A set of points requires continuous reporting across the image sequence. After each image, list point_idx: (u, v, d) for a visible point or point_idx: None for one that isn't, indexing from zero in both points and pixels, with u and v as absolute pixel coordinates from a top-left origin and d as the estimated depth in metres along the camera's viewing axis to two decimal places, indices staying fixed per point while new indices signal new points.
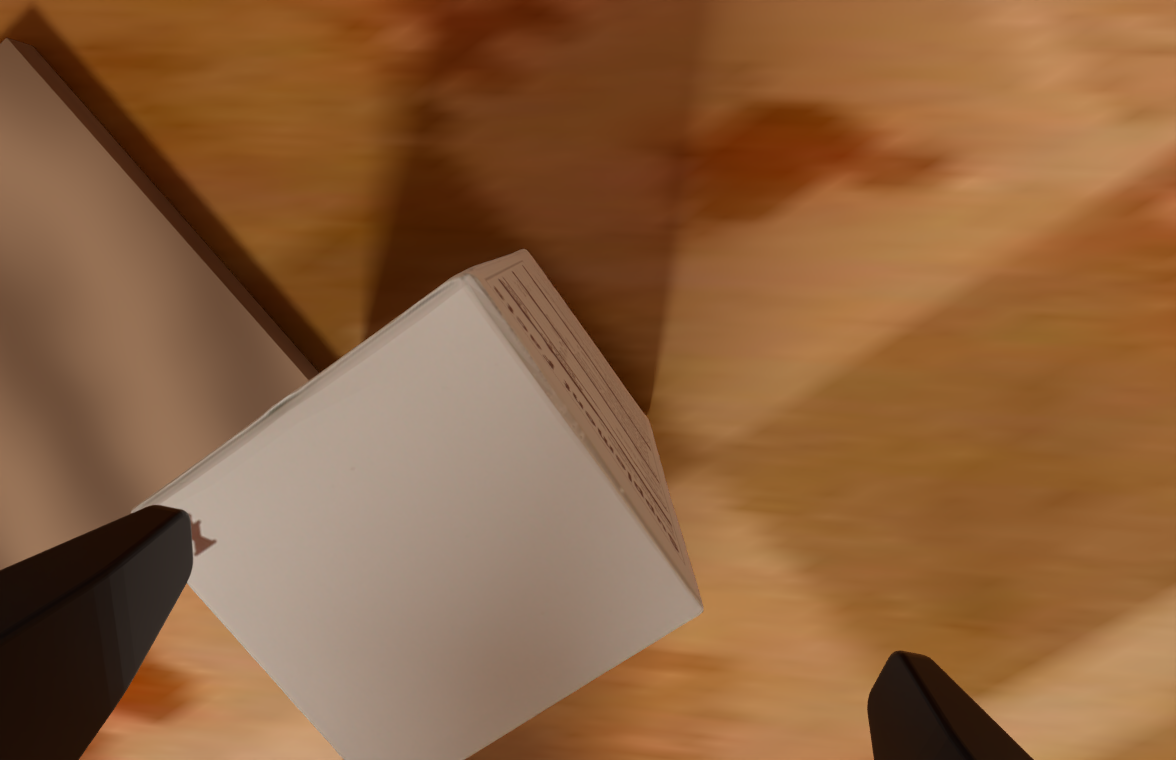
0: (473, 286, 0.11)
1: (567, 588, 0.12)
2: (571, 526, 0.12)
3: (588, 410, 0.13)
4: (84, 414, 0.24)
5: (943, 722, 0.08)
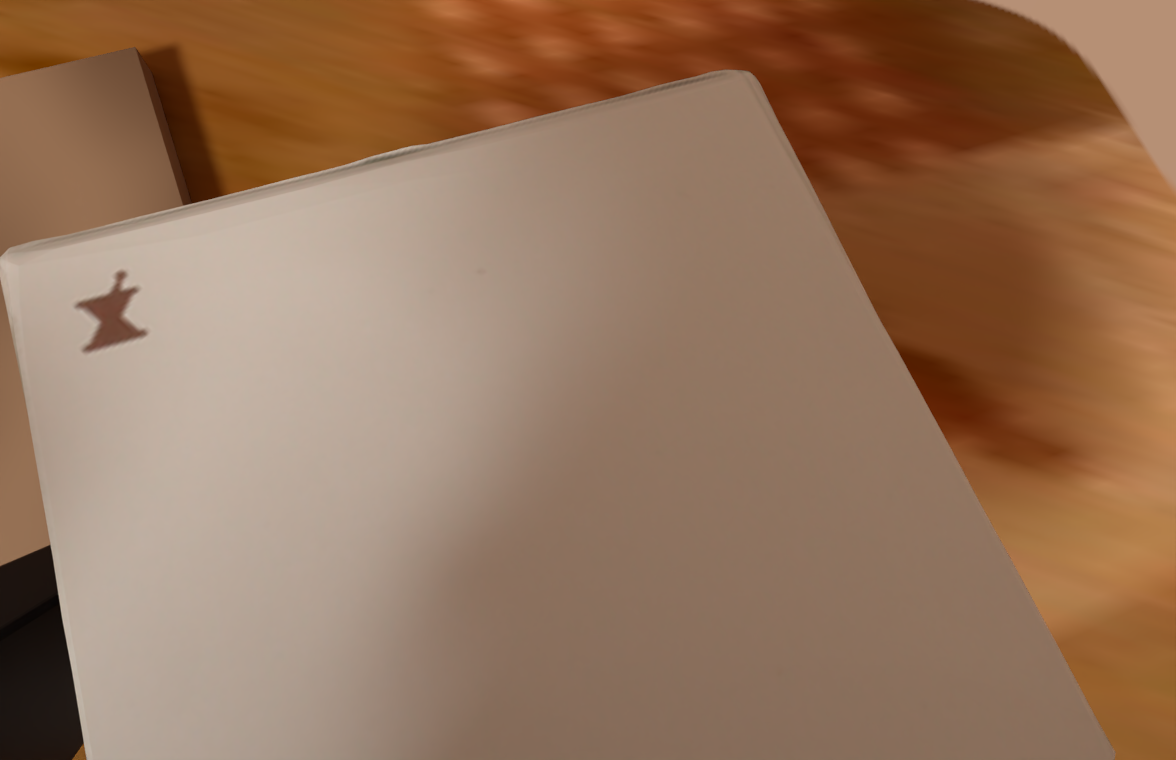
0: (755, 86, 0.07)
1: (841, 626, 0.06)
2: (861, 489, 0.06)
3: None
4: None
5: None
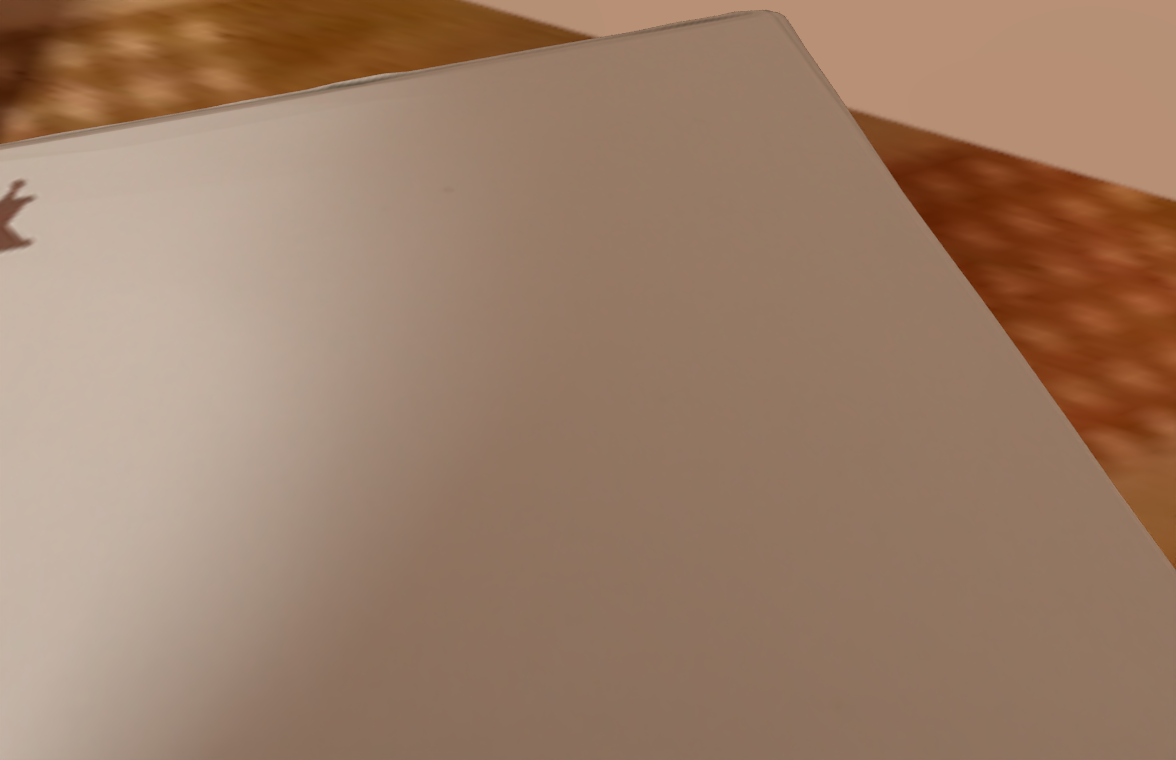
0: (784, 24, 0.06)
1: (927, 640, 0.04)
2: (946, 457, 0.04)
3: None
4: None
5: None
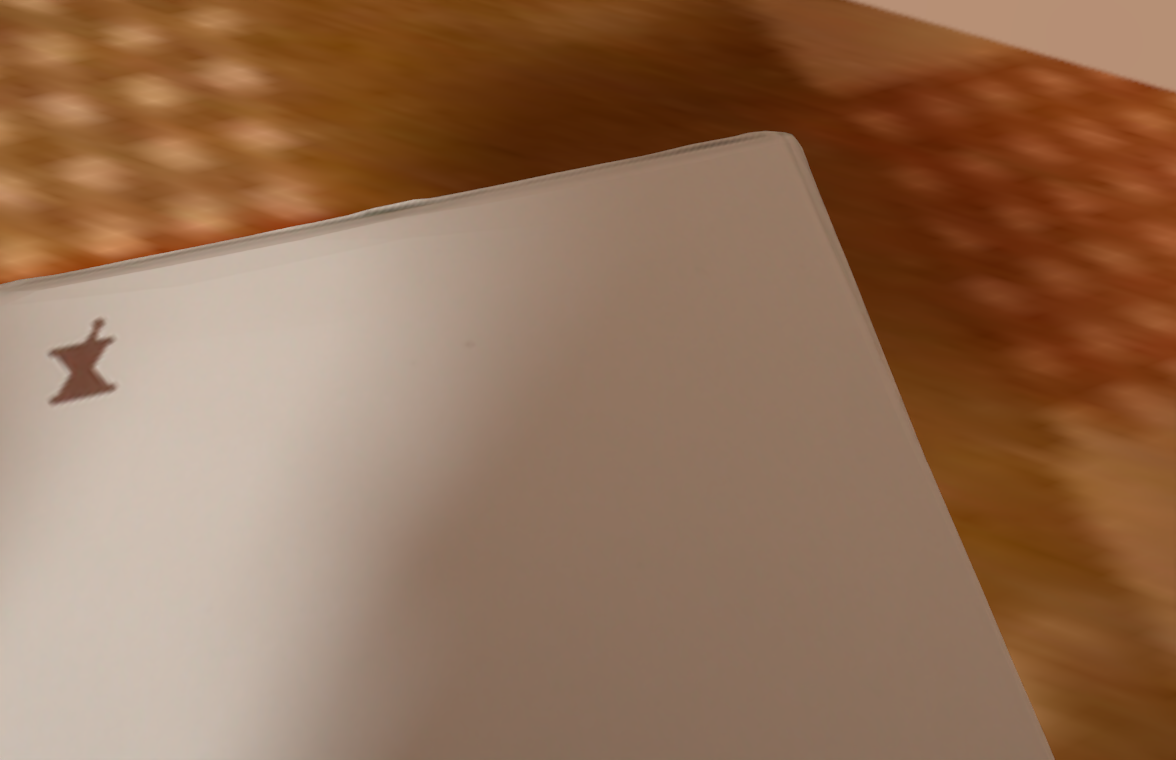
0: (796, 150, 0.07)
1: None
2: (870, 628, 0.05)
3: None
4: None
5: None
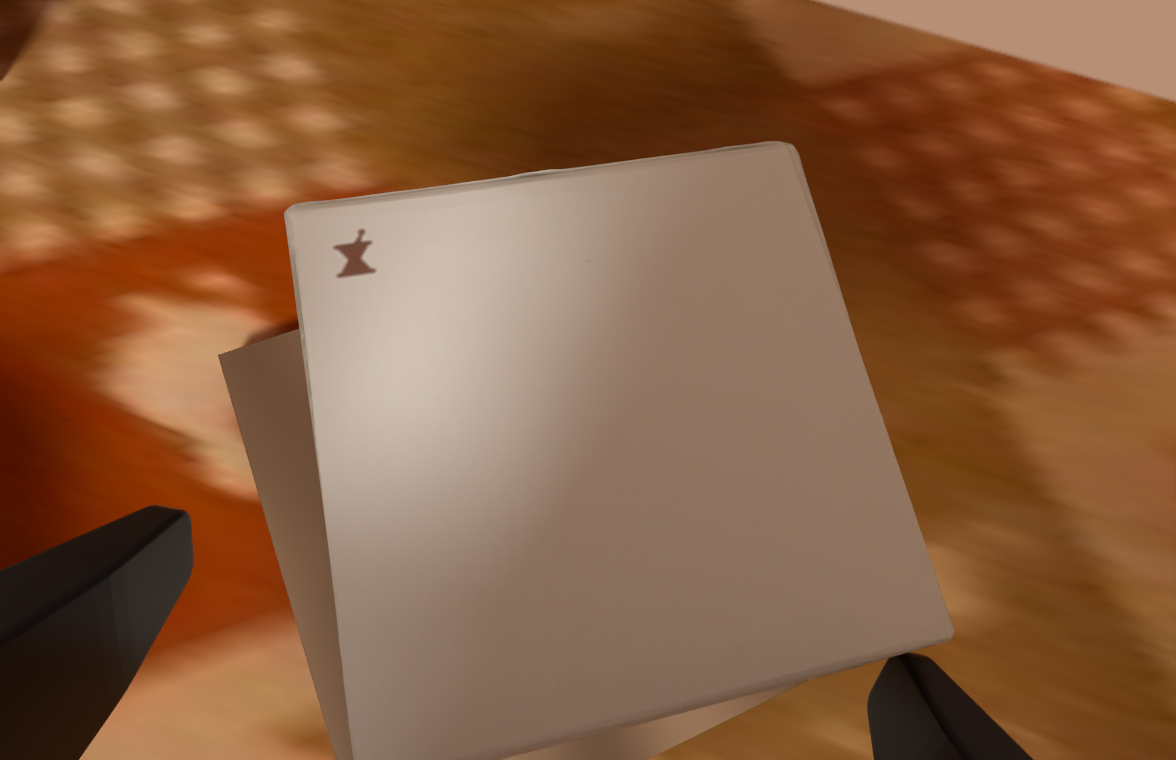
0: (794, 155, 0.10)
1: (787, 520, 0.09)
2: (817, 439, 0.09)
3: None
4: None
5: (942, 722, 0.08)
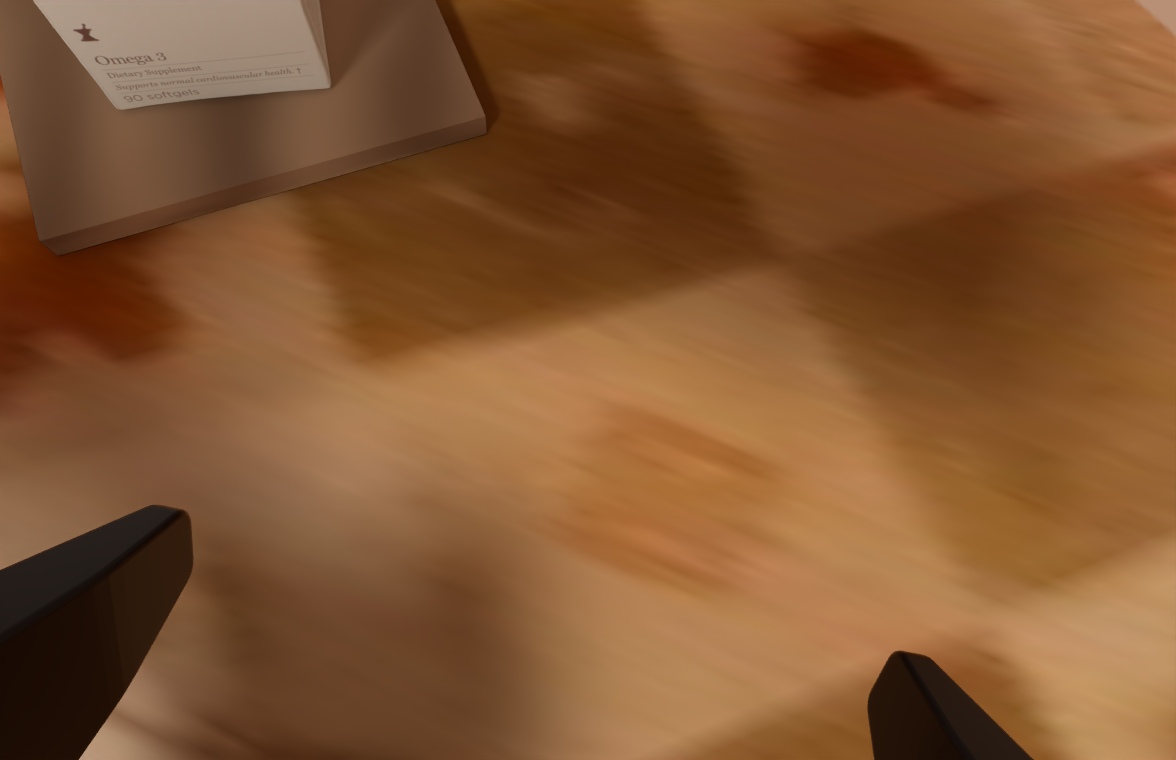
0: None
1: None
2: None
3: None
4: None
5: (943, 722, 0.08)
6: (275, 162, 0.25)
